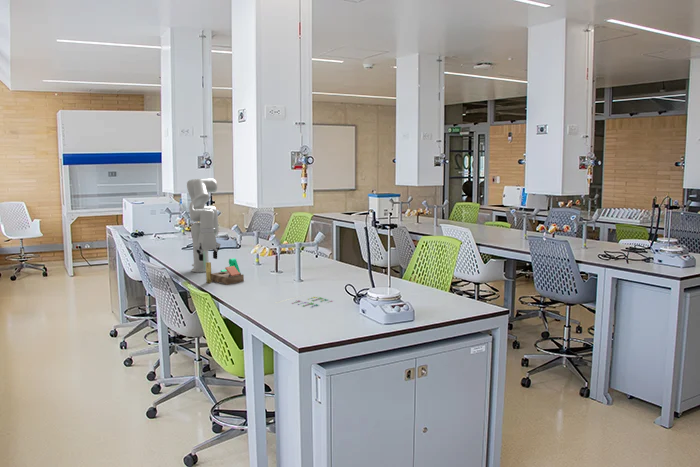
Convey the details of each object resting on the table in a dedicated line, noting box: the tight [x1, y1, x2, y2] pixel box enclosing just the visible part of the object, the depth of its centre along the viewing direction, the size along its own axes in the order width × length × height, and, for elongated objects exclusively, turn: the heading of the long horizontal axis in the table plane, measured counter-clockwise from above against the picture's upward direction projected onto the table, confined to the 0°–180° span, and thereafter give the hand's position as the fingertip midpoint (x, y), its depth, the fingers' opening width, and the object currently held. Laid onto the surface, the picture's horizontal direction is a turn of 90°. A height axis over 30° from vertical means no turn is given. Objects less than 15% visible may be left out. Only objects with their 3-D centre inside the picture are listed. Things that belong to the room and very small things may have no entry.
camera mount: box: [220, 258, 241, 273], centre depth 361 cm, size 12×8×10 cm, turn 40°
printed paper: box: [275, 293, 334, 308], centre depth 290 cm, size 30×30×2 cm
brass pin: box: [205, 262, 213, 284], centre depth 337 cm, size 3×3×12 cm
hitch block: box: [211, 271, 245, 285], centre depth 342 cm, size 17×12×5 cm
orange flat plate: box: [224, 265, 241, 276], centre depth 338 cm, size 7×6×1 cm
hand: (208, 259), depth 336 cm, fingers open, 9 cm apart
